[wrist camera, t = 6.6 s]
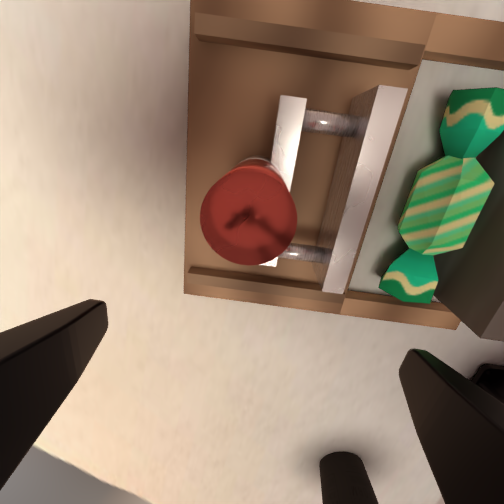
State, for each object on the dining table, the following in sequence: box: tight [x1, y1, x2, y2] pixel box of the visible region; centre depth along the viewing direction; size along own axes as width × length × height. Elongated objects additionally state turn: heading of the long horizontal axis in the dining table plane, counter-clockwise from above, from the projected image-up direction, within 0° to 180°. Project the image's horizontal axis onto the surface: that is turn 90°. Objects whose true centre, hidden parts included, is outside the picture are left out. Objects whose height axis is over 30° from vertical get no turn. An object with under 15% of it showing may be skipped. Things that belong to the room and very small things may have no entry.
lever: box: [200, 85, 408, 294], centre depth 12 cm, size 7×10×8 cm
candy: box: [379, 87, 504, 304], centre depth 16 cm, size 12×3×4 cm
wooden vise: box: [184, 0, 504, 341], centre depth 14 cm, size 21×18×6 cm
